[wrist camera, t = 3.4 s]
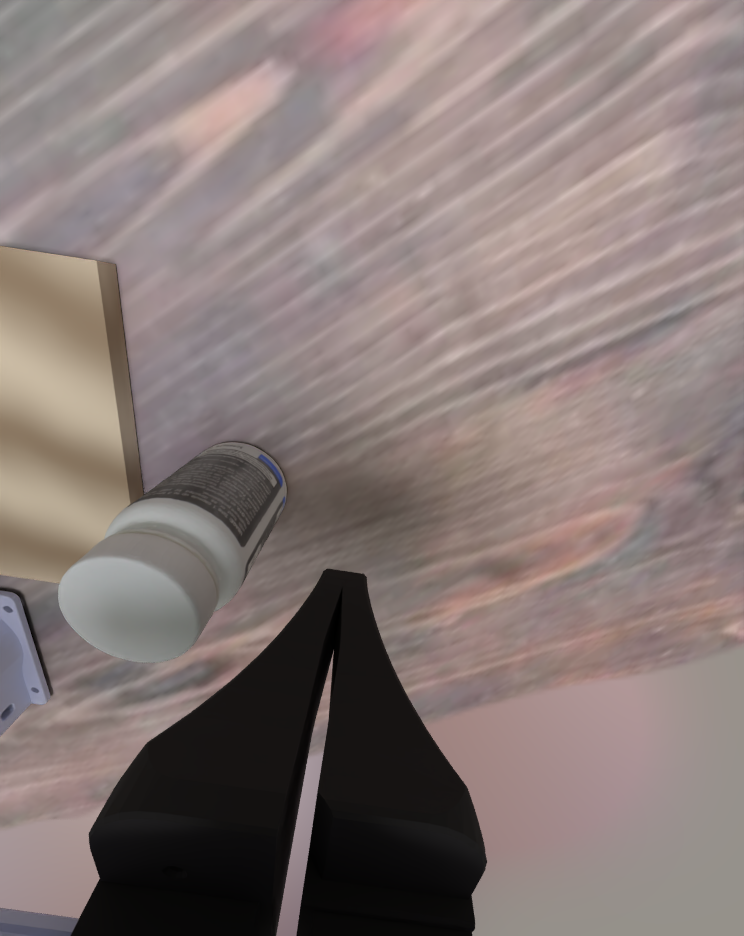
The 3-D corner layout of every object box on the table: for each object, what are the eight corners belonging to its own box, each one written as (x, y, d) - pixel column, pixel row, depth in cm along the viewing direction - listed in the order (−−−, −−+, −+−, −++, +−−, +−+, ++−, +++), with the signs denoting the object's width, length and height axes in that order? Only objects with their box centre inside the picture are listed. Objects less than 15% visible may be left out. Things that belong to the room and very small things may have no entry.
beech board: (154, 582, 20) (142, 596, 19) (-57, 552, 20) (-81, 564, 19) (115, 264, 14) (94, 260, 13) (-189, 218, 14) (-235, 210, 13)
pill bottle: (181, 445, 17) (7, 550, 9) (277, 435, 17) (179, 537, 9) (210, 530, 19) (84, 677, 11) (297, 523, 18) (230, 671, 11)
